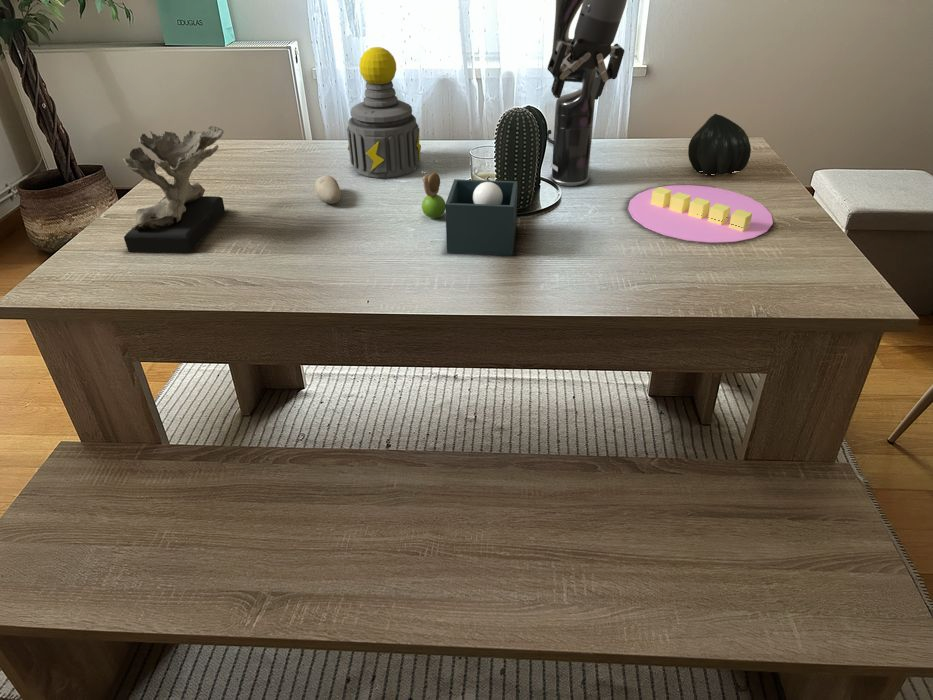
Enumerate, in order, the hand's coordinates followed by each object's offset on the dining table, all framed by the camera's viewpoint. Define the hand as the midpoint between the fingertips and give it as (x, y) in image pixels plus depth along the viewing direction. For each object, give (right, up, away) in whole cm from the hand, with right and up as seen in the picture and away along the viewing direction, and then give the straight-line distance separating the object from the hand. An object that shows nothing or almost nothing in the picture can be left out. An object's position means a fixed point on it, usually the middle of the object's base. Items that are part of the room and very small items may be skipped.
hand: (574, 97), depth 138 cm
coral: (-82, -23, +19) cm, 88 cm away
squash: (+43, -4, +43) cm, 61 cm away
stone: (-55, -13, +32) cm, 65 cm away
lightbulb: (-18, -25, +12) cm, 33 cm away
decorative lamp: (-43, -1, +50) cm, 66 cm away
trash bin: (-18, -26, +12) cm, 34 cm away
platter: (+32, -18, +23) cm, 43 cm away
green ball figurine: (-29, -20, +22) cm, 42 cm away
